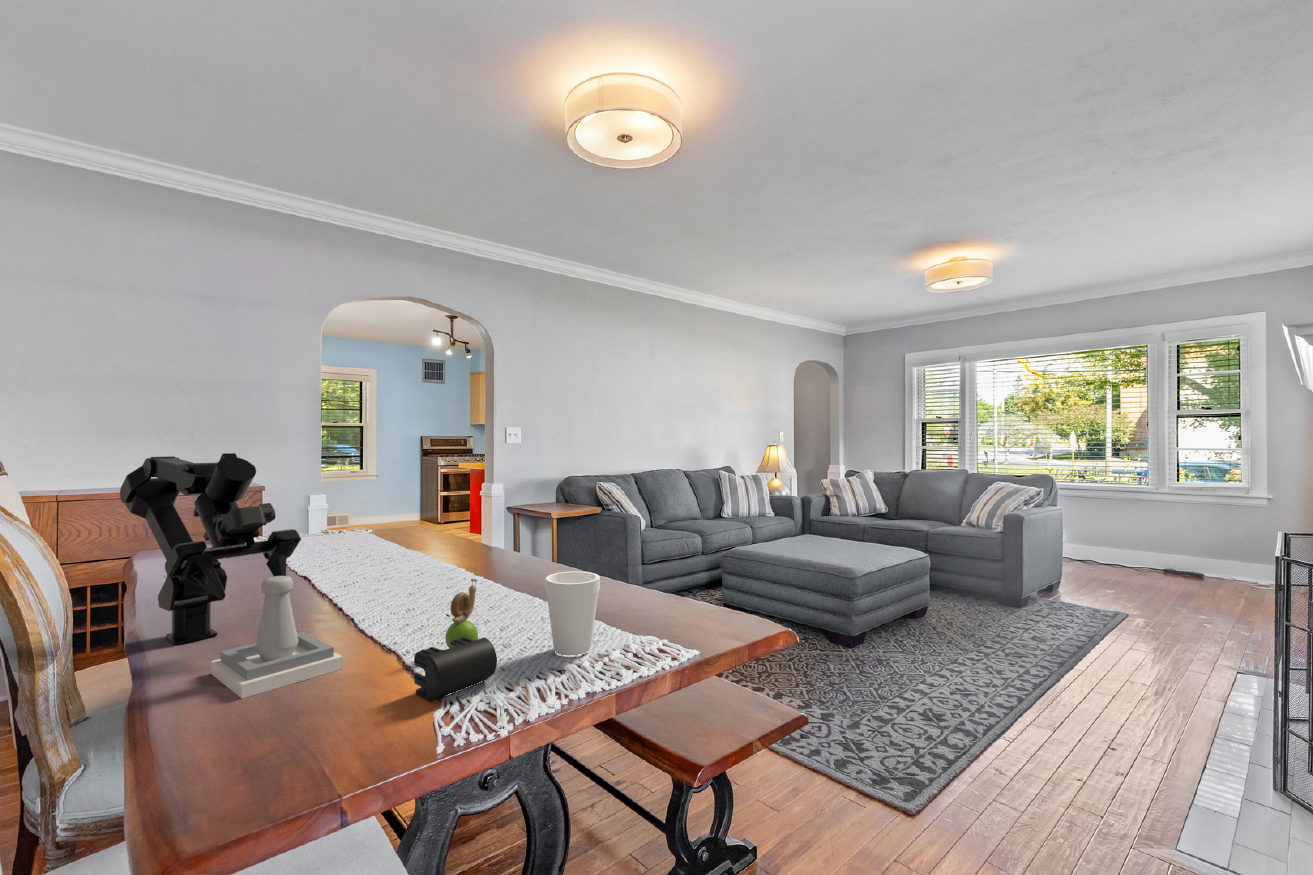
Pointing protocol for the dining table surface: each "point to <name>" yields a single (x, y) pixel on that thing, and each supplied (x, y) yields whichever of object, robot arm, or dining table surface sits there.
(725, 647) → the dining table surface
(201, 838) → the dining table surface
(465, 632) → the snail figurine
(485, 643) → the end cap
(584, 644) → the foam cup
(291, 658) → the display plinth
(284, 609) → the salt shaker
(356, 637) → the dining table surface
